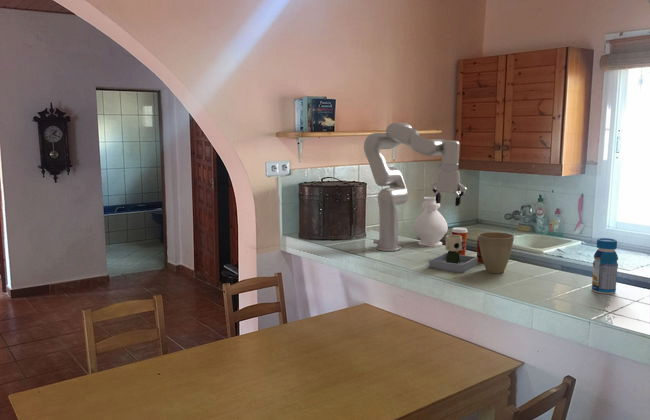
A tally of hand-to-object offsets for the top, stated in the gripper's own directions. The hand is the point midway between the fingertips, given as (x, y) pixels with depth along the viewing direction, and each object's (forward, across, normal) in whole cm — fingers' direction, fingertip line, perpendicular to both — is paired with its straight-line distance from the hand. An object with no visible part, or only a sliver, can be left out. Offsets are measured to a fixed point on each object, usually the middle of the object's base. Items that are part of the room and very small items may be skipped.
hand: (447, 204), depth 258 cm
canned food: (+26, +16, +9) cm, 32 cm away
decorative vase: (+28, -22, +29) cm, 46 cm away
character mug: (+26, +9, -9) cm, 28 cm away
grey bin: (+26, +9, -9) cm, 29 cm away
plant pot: (+26, +27, -7) cm, 38 cm away
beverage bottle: (+24, +71, -11) cm, 76 cm away
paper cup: (+27, +3, +9) cm, 28 cm away
